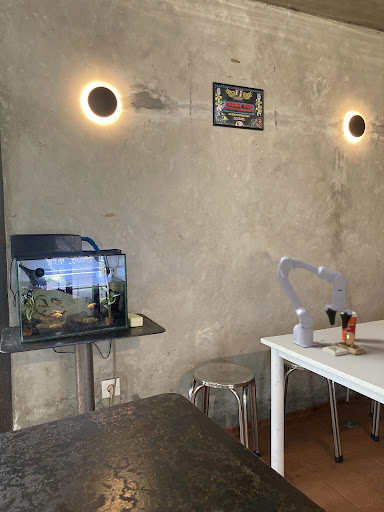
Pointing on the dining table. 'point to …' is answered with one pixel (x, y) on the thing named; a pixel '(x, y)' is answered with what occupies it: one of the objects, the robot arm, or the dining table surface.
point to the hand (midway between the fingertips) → (338, 326)
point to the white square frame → (335, 353)
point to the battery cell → (350, 340)
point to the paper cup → (350, 326)
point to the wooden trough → (354, 351)
